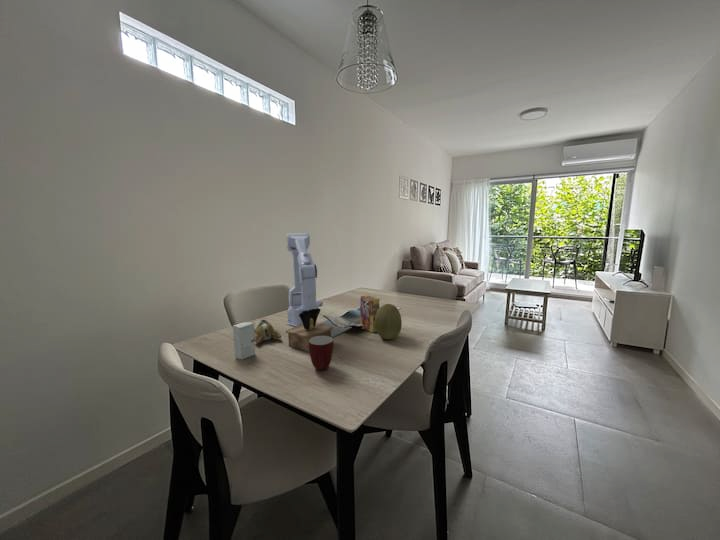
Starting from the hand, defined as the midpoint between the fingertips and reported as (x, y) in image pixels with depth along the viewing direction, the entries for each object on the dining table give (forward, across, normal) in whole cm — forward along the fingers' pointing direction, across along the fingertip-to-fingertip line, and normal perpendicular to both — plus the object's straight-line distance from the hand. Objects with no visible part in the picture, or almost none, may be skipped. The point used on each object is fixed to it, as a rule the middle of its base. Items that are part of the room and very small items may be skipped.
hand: (309, 327), depth 117 cm
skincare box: (+7, -21, +13) cm, 26 cm away
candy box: (+7, +27, -12) cm, 30 cm away
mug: (+7, -14, -18) cm, 24 cm away
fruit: (+7, +22, -24) cm, 33 cm away
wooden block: (+1, 0, 0) cm, 1 cm away
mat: (+7, +18, +4) cm, 20 cm away
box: (+7, 0, 0) cm, 7 cm away
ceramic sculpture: (+7, -6, +20) cm, 22 cm away
